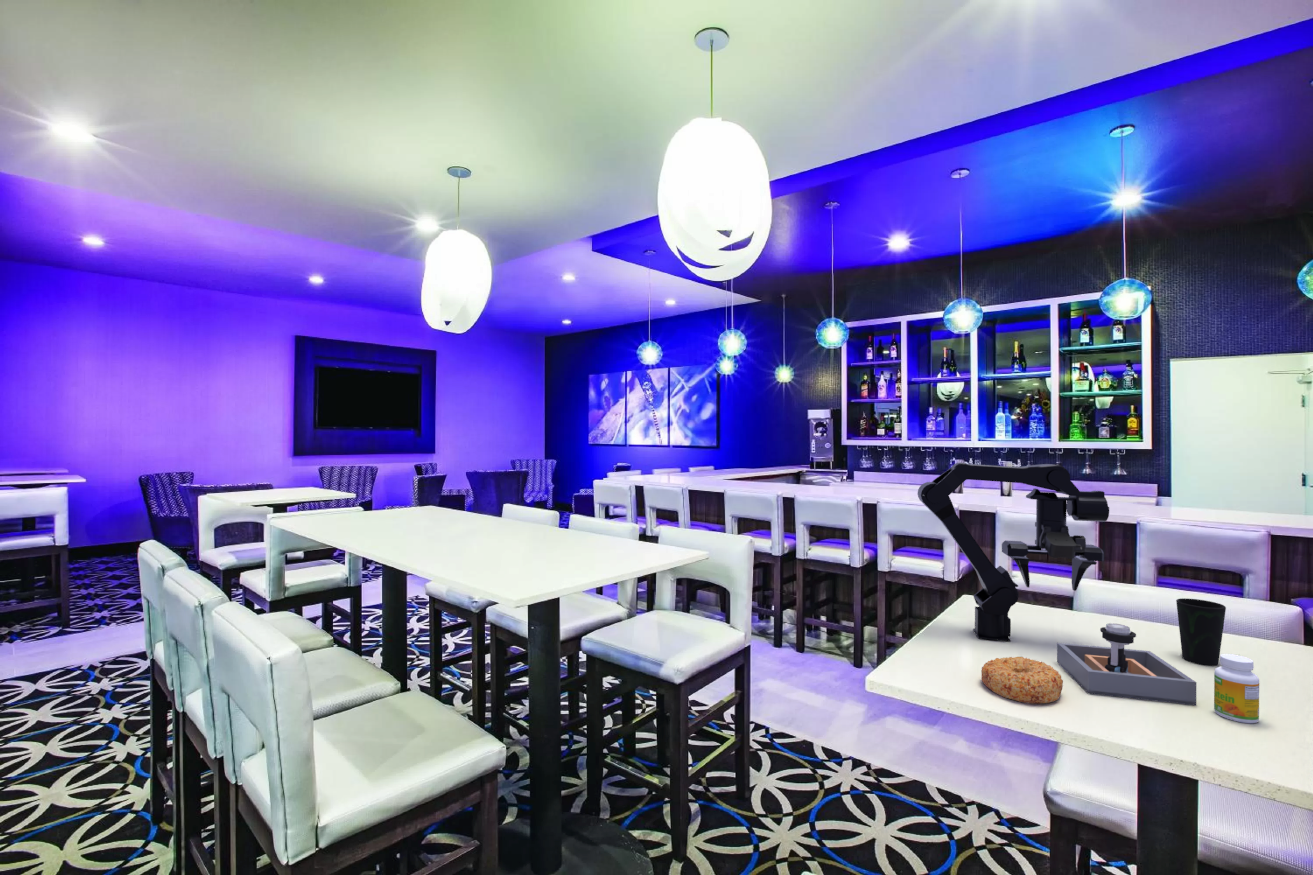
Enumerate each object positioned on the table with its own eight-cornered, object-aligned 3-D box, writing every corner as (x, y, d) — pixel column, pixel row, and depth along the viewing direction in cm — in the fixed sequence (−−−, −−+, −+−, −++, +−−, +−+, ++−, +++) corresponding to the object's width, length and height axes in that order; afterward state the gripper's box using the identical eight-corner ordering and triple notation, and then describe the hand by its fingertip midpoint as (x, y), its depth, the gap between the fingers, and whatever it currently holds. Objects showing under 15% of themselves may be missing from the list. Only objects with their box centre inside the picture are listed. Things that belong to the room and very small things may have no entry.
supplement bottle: (1204, 709, 102) (1205, 652, 102) (1233, 708, 103) (1234, 651, 103) (1238, 724, 97) (1238, 664, 97) (1268, 723, 97) (1269, 663, 97)
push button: (1109, 670, 118) (1110, 619, 118) (1143, 679, 113) (1143, 626, 113) (1095, 677, 114) (1095, 624, 114) (1128, 687, 110) (1129, 632, 110)
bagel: (1055, 683, 113) (1056, 657, 113) (1071, 713, 101) (1071, 683, 101) (978, 672, 118) (978, 646, 118) (984, 699, 106) (984, 670, 106)
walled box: (1088, 693, 108) (1088, 671, 108) (1056, 662, 124) (1057, 642, 124) (1196, 705, 104) (1196, 682, 104) (1149, 671, 119) (1149, 650, 119)
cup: (1213, 656, 127) (1213, 600, 127) (1234, 669, 120) (1234, 609, 120) (1168, 652, 130) (1169, 596, 130) (1186, 664, 123) (1186, 606, 123)
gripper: (1014, 522, 131) (1014, 594, 131) (1115, 526, 126) (1115, 601, 126) (1001, 516, 142) (1000, 582, 142) (1093, 519, 137) (1093, 588, 137)
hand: (1050, 588), depth 136 cm, fingers open, 9 cm apart
